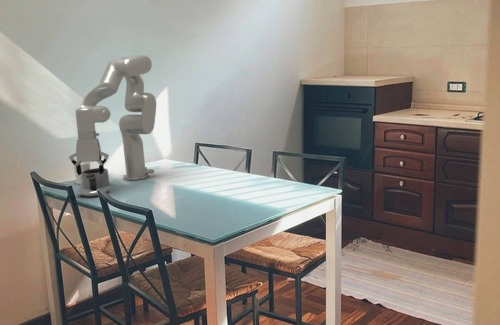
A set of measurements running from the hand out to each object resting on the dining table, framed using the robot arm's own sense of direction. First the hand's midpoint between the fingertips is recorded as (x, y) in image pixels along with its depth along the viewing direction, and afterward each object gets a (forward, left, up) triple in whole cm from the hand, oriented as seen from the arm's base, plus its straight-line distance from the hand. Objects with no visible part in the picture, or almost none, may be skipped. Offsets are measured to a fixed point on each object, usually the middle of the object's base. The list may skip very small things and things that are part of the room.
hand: (90, 174), depth 239 cm
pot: (+4, -18, -10) cm, 20 cm away
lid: (0, -1, -10) cm, 10 cm away
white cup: (+12, -25, -10) cm, 29 cm away
